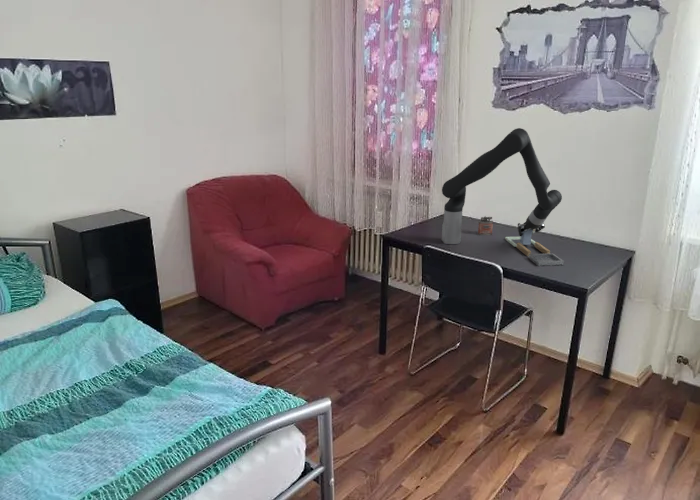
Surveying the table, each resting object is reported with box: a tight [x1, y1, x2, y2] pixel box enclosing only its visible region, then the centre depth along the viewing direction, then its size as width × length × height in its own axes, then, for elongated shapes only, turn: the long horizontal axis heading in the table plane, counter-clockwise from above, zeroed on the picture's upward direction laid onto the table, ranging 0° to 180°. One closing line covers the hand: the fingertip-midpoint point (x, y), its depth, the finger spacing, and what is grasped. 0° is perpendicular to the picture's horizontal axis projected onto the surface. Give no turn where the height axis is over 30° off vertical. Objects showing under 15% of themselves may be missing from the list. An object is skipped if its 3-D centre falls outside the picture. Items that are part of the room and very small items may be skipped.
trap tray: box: [528, 252, 565, 267], centre depth 242 cm, size 12×11×2 cm
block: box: [519, 229, 533, 246], centre depth 263 cm, size 4×4×9 cm
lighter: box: [477, 215, 494, 236], centre depth 283 cm, size 8×3×10 cm, turn 92°
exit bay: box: [504, 236, 536, 248], centre depth 270 cm, size 12×13×1 cm
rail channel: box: [516, 241, 551, 257], centre depth 256 cm, size 11×14×2 cm
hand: (524, 234), depth 265 cm, fingers closed on block, 4 cm apart
